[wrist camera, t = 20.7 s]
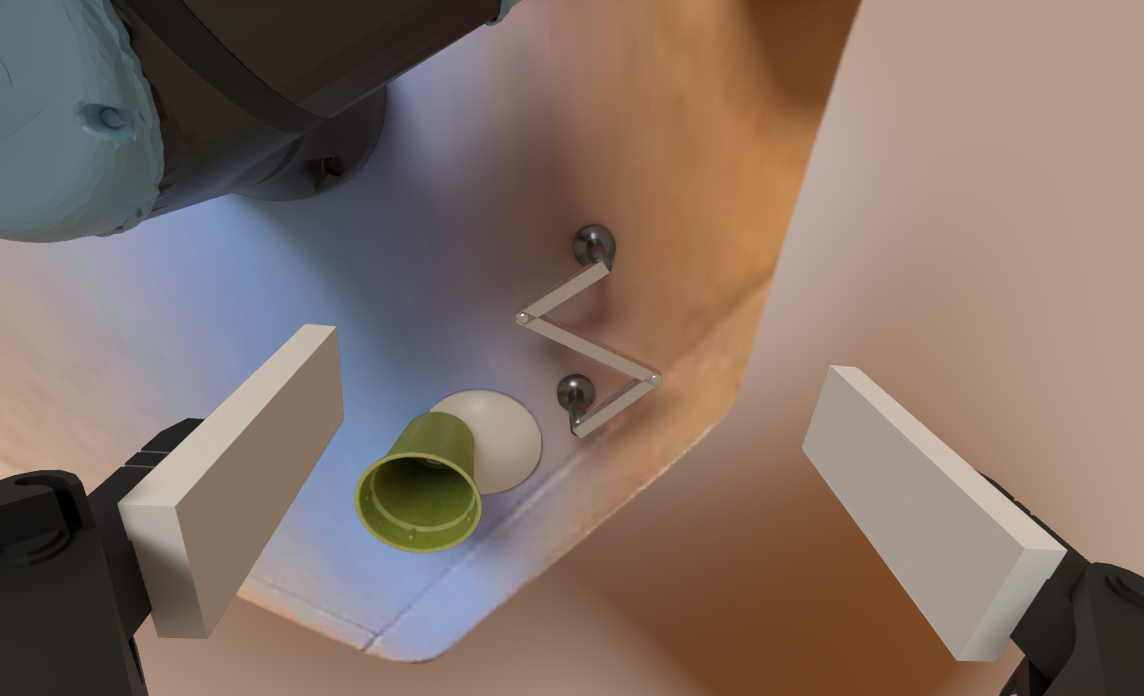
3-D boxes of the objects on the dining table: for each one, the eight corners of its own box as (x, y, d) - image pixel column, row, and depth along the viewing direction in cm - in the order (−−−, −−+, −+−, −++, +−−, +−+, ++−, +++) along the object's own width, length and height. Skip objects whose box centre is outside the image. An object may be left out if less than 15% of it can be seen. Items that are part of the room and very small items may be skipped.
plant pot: (377, 469, 49) (345, 540, 41) (394, 382, 46) (364, 441, 38) (478, 491, 51) (466, 563, 43) (503, 408, 47) (495, 470, 39)
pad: (419, 486, 51) (418, 490, 51) (418, 384, 46) (417, 387, 46) (536, 493, 52) (536, 497, 51) (546, 393, 47) (546, 397, 47)
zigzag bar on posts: (510, 401, 48) (505, 445, 42) (523, 217, 41) (519, 237, 35) (635, 410, 49) (648, 454, 43) (668, 231, 42) (688, 254, 36)
